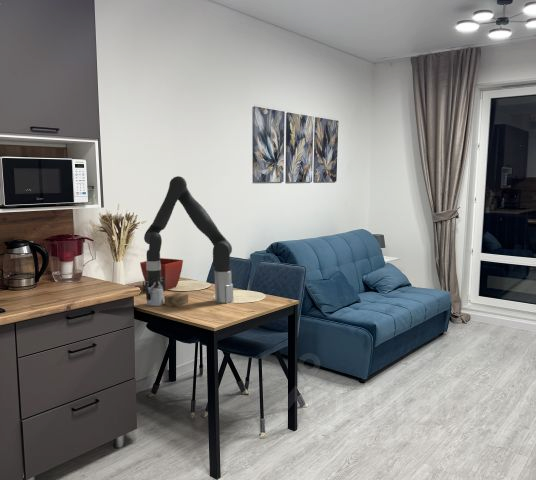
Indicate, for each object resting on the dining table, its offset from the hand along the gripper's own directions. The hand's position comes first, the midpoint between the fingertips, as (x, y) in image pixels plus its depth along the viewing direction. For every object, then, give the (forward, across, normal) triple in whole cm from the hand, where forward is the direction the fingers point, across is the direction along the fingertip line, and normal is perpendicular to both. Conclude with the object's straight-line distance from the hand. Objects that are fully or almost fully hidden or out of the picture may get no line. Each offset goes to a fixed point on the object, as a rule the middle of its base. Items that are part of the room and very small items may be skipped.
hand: (154, 298), depth 263 cm
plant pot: (+4, +31, +25) cm, 40 cm away
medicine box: (+4, 0, 0) cm, 4 cm away
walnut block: (+4, +8, -9) cm, 12 cm away
